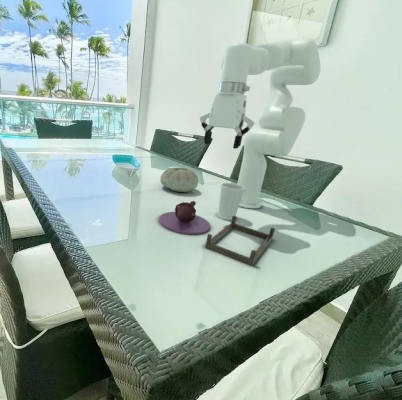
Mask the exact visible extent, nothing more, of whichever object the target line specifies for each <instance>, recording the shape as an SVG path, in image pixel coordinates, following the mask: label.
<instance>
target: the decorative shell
mask: <svg viewBox="0 0 402 400" xmlns="http://www.w3.org/2000/svg"><path fill="white" fill-rule="evenodd" d="M159 179H160V184H161V185H162V186H164V187H165V188H167V189H170V190H171V191H175V192H180V193H189V192H192V191H193V190H196V188H197V187H198V185H199V176H198V175H197V174H196V172H195V171H193V170H191V169H189V168H186V167H169V168H168V169H166V170H164V171H163V172H162V173H161V176H160V178H159Z"/></svg>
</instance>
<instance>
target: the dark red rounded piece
mask: <svg viewBox="0 0 402 400" xmlns="http://www.w3.org/2000/svg"><path fill="white" fill-rule="evenodd" d="M196 204H197V202H196V201H195V200H191V201H190V202H184V201H182V202H180V203H178V204H176V205H175V208H174V212H175V215H176V217H177V218H178V219H179V220H180V221H182V222H186V223H189V222H190V221H192V220H194V218H195V215H196V213H197V209H196V208H195V206H196Z"/></svg>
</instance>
